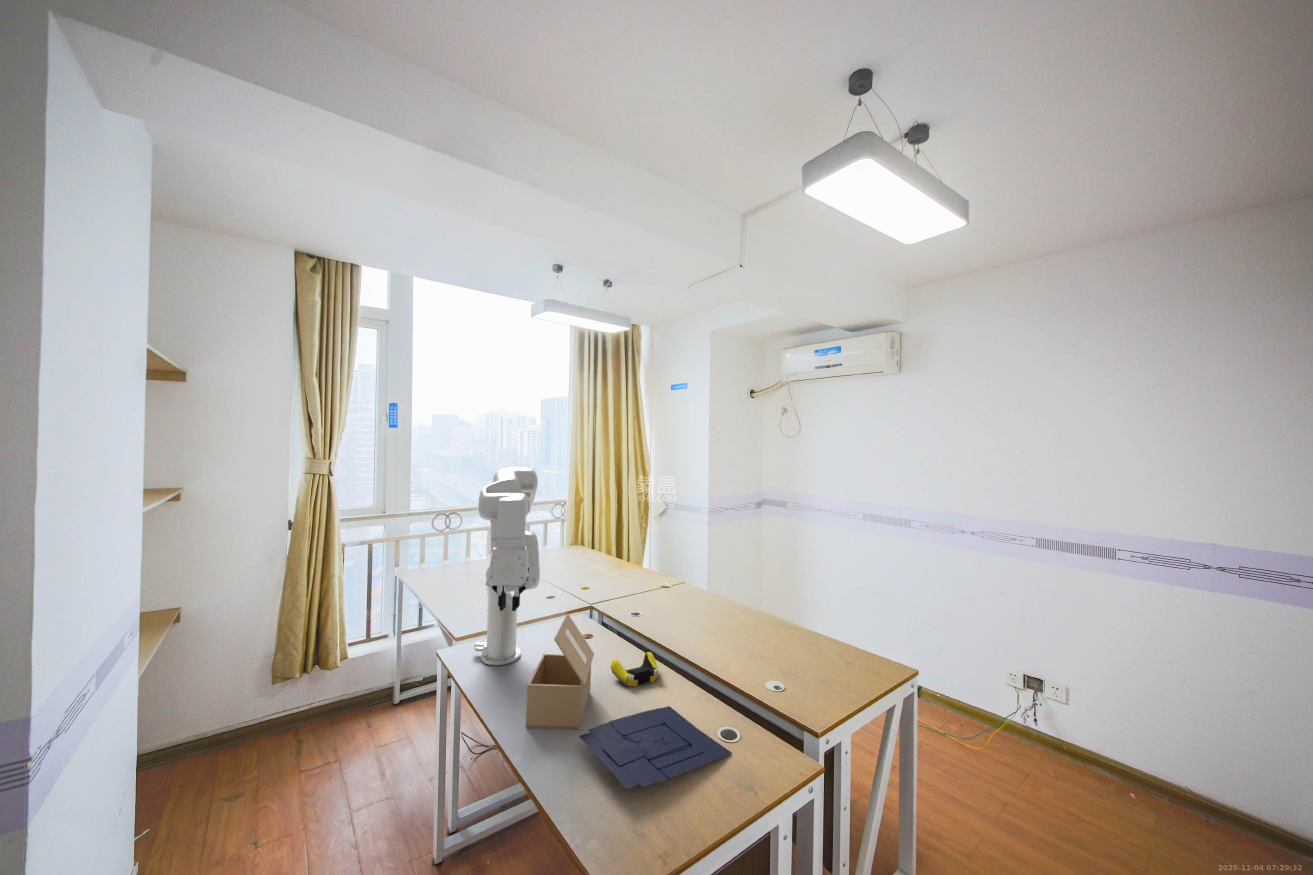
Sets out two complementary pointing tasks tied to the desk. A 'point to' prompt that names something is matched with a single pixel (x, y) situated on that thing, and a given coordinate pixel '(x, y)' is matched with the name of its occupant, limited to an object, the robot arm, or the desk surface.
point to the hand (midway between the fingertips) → (508, 608)
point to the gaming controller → (636, 671)
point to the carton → (556, 695)
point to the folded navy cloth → (651, 746)
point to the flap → (574, 648)
